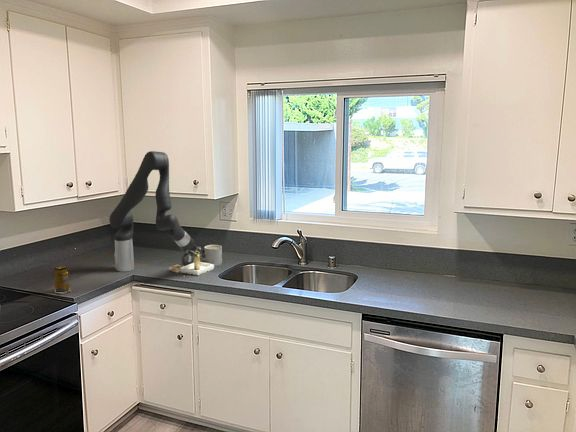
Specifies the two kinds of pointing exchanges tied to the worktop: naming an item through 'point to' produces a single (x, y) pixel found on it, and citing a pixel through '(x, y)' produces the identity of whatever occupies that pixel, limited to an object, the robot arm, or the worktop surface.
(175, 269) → the stop block
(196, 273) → the tray
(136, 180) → the robot arm
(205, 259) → the coffee mug
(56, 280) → the condiment
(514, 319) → the worktop surface
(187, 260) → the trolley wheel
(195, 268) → the pin
